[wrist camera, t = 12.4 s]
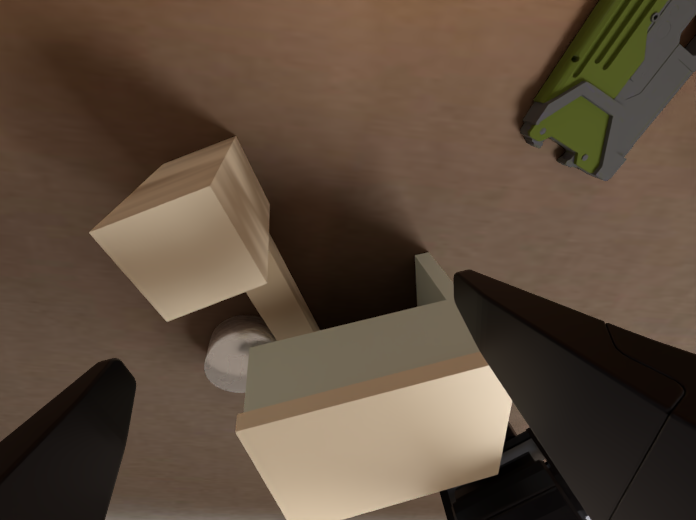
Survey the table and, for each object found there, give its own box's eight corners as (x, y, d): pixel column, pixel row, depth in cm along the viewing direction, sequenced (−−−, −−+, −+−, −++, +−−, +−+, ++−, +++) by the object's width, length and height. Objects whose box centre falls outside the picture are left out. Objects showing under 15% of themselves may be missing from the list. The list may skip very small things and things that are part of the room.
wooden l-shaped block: (339, 345, 26) (362, 446, 19) (291, 363, 26) (297, 470, 19) (235, 135, 17) (209, 186, 10) (162, 164, 17) (89, 232, 10)
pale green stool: (433, 353, 28) (498, 474, 20) (289, 390, 27) (294, 533, 19) (431, 249, 23) (520, 356, 14) (250, 290, 22) (235, 431, 13)
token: (291, 354, 26) (292, 380, 23) (227, 372, 25) (222, 400, 23) (270, 305, 23) (269, 330, 21) (198, 325, 23) (190, 352, 20)
